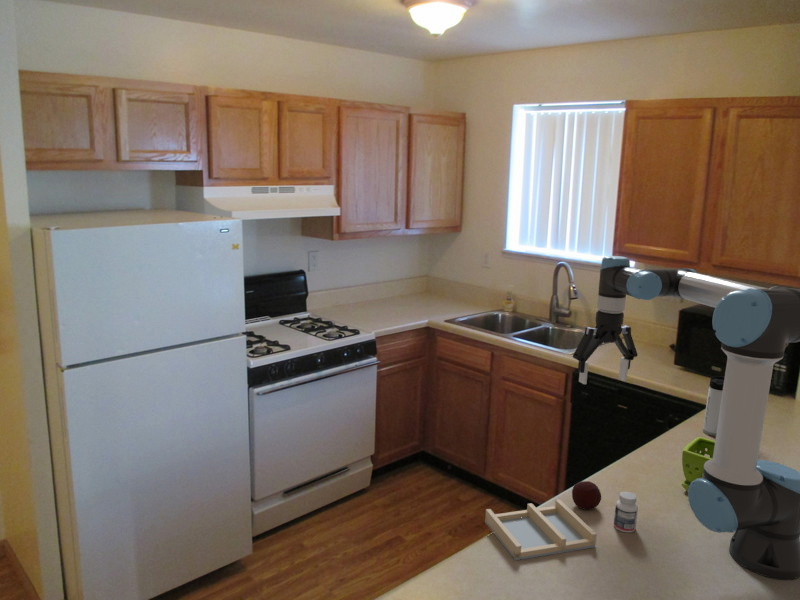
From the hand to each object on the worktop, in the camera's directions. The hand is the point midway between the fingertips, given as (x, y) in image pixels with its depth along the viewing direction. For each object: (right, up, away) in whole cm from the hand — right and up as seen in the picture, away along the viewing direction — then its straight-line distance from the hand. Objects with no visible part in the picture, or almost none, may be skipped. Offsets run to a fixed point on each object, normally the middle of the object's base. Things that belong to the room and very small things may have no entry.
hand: (602, 381), depth 183 cm
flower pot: (+29, -31, -5) cm, 43 cm away
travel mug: (+51, -23, +37) cm, 67 cm away
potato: (-10, -32, -16) cm, 37 cm away
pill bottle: (-3, -34, -25) cm, 42 cm away
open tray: (-25, -34, -29) cm, 51 cm away
